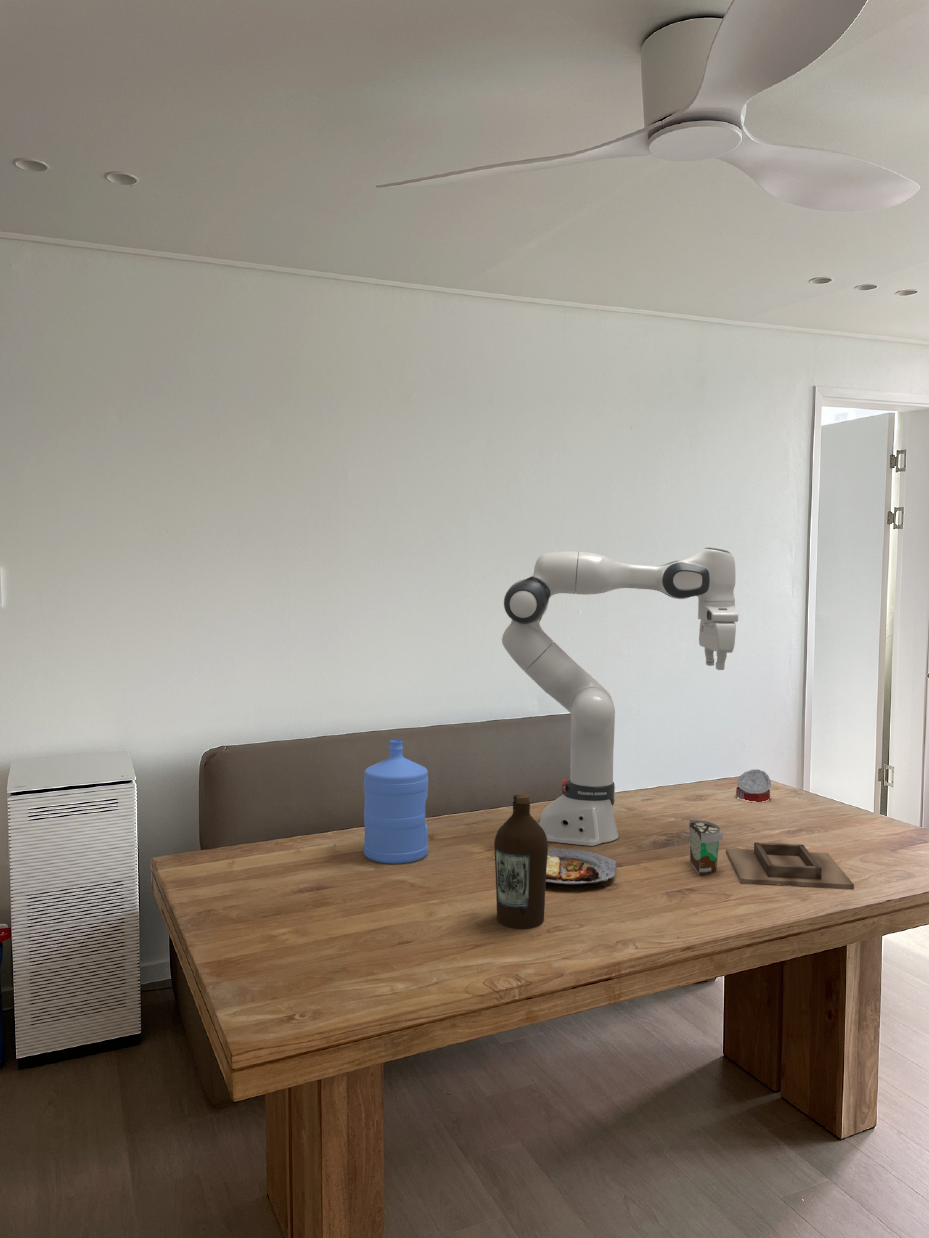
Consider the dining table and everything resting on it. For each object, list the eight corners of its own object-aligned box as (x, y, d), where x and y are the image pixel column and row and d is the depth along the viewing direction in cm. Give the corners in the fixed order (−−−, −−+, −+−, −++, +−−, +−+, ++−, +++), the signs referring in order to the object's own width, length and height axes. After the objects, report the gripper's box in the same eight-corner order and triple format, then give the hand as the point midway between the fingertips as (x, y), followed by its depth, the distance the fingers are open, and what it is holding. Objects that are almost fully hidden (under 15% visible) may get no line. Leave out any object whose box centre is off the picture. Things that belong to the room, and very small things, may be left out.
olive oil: (508, 905, 186) (509, 786, 184) (555, 915, 180) (556, 792, 179) (484, 923, 176) (485, 798, 175) (533, 934, 171) (534, 805, 170)
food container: (728, 877, 203) (729, 834, 202) (700, 877, 203) (701, 834, 203) (714, 860, 215) (715, 819, 215) (688, 859, 215) (689, 818, 215)
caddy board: (740, 883, 199) (741, 867, 199) (725, 852, 221) (726, 838, 221) (853, 889, 196) (854, 873, 196) (827, 857, 218) (828, 842, 218)
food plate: (613, 895, 191) (614, 879, 191) (506, 888, 196) (506, 872, 196) (617, 861, 216) (617, 847, 216) (521, 856, 220) (521, 841, 220)
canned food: (769, 814, 274) (784, 788, 270) (746, 814, 268) (761, 788, 264) (746, 789, 282) (760, 764, 278) (723, 790, 277) (737, 764, 273)
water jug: (399, 869, 208) (399, 749, 206) (350, 856, 217) (350, 741, 215) (441, 852, 220) (441, 739, 218) (393, 840, 229) (393, 732, 228)
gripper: (693, 610, 235) (692, 663, 236) (714, 614, 215) (712, 672, 216) (717, 610, 235) (716, 663, 236) (740, 614, 215) (739, 672, 216)
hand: (714, 667), depth 226 cm, fingers open, 8 cm apart
